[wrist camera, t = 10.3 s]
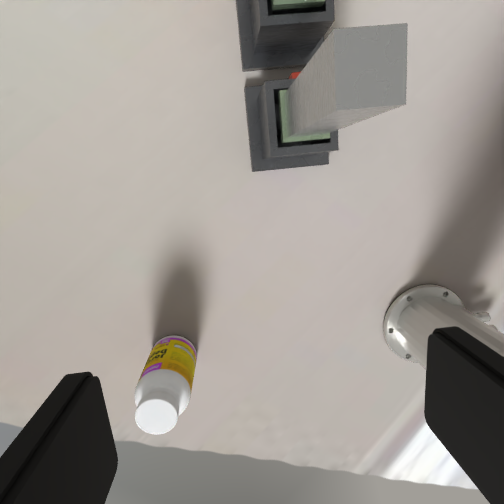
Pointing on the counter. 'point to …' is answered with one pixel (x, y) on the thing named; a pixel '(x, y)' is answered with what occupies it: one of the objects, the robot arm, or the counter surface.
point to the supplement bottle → (165, 384)
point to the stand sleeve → (279, 132)
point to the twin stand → (281, 31)
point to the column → (346, 82)
